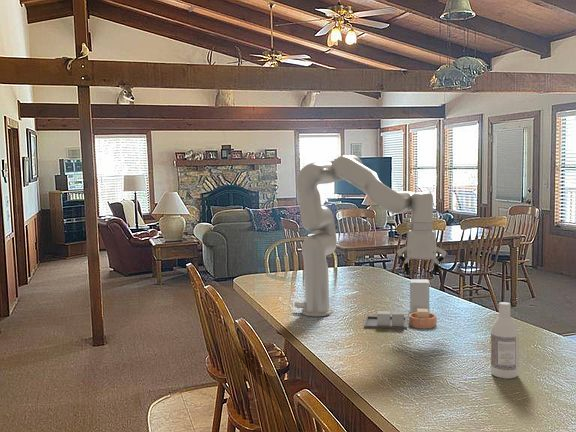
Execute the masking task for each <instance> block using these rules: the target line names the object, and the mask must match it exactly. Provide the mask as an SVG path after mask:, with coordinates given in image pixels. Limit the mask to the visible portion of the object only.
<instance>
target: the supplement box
mask: <svg viewBox="0 0 576 432" xmlns="http://www.w3.org/2000/svg"><path fill="white" fill-rule="evenodd" d="M417 309H428V313H430V281H429V279H426V278H425V279H423V278H422V279H418V278H417V279H415V278H414V279H412V278H411V279H410V280H409V312H410V313H409V314H411V313H415V312H417Z"/></svg>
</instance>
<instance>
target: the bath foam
mask: <svg viewBox="0 0 576 432" xmlns="http://www.w3.org/2000/svg"><path fill="white" fill-rule="evenodd" d="M490 373H491V375H492V376H494V377H497V378H499V379H506V380H508V379H509V380H510V379H514V378H517V377H518V375H519V331H518V327H517V324H516V323H515V321H514V319H513V318H512V316H511V303H510V302H506V301H501V302H498V316H497V318H496V319H495V320H494V322H493V323H492V326H491V330H490Z"/></svg>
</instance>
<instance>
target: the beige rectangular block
mask: <svg viewBox="0 0 576 432" xmlns="http://www.w3.org/2000/svg"><path fill="white" fill-rule="evenodd" d="M417 318H421V319H427V318H428V309H417Z"/></svg>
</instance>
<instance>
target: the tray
mask: <svg viewBox="0 0 576 432" xmlns="http://www.w3.org/2000/svg"><path fill="white" fill-rule="evenodd" d="M363 328H364V329H382V330H383V329H384V330H386V329H387V330H388V329H389V330H390V329H391V330H408V318H407V316H404V326H392V316H390V326H377V315H375V316H374V315H366V317H365V320H364V325H363Z"/></svg>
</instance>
